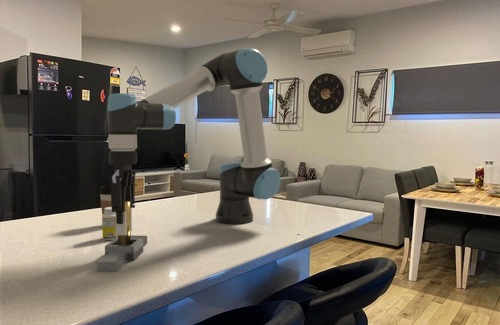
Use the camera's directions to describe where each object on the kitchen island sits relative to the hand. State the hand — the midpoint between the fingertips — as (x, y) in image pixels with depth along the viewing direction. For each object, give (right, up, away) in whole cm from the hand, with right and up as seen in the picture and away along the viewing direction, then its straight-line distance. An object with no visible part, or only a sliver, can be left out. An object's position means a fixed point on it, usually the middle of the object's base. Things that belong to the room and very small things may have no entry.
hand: (124, 232), depth 108 cm
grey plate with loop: (0, -7, +1) cm, 7 cm away
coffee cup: (-16, -4, +35) cm, 39 cm away
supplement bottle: (-10, -6, +18) cm, 21 cm away
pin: (0, -3, 0) cm, 3 cm away
